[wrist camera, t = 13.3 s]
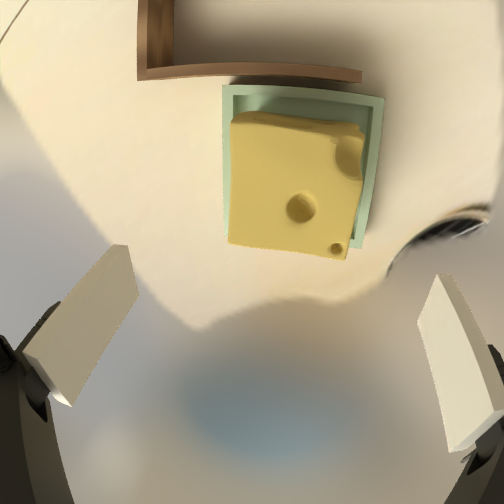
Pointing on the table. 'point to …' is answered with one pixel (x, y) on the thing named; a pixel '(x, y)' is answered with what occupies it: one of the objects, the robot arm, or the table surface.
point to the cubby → (161, 63)
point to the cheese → (294, 183)
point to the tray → (317, 107)
